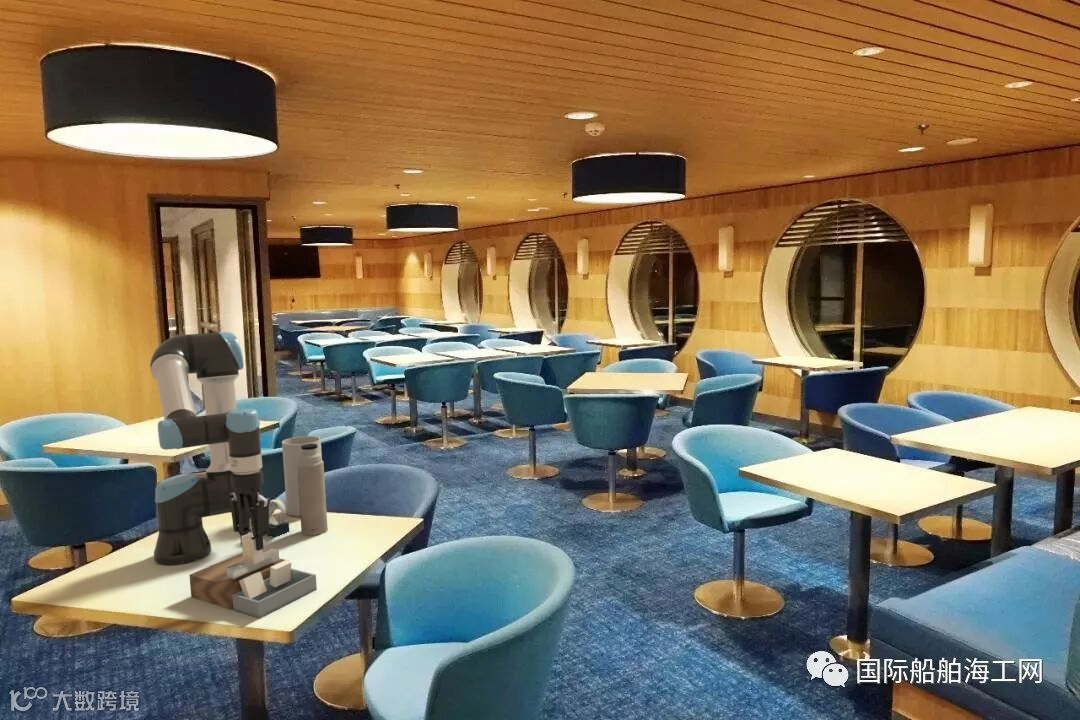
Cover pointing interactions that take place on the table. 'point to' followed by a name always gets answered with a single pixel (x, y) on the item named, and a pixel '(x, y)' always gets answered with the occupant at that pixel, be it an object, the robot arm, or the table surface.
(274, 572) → the tile
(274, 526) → the watch
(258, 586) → the tile
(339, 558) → the table surface
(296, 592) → the box
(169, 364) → the robot arm
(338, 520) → the table surface
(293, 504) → the cylinder vase
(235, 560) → the wood grain panel
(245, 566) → the gray bar with knob
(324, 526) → the thermos bottle
